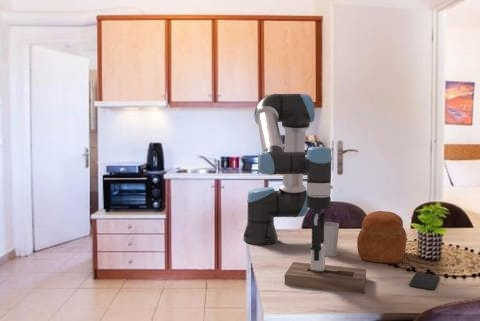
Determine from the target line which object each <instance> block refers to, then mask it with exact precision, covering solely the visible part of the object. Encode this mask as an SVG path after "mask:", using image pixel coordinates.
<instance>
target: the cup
mask: <svg viewBox="0 0 480 321" xmlns="http://www.w3.org/2000/svg"><path fill="white" fill-rule="evenodd" d="M339 230H340V224H339V223H338V222H334V221H332V222H331V221H325V224H324V242H323V243H326V245H325V257H335V256H337V254H338V253H337V250H338V239H339Z"/></svg>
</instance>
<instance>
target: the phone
mask: <svg viewBox="0 0 480 321" xmlns="http://www.w3.org/2000/svg"><path fill="white" fill-rule="evenodd" d="M440 279H441V278H440V276H439V275H437V274H431V273H430V274H429V273H424V272H416V273H415V274H414V276H413V278H412V279H411V281H410V282H409V284H408V286H409V287H410V288H414V289H420V290H425V291H435V290H436V288H437V286H438V282H439V281H440Z"/></svg>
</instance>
